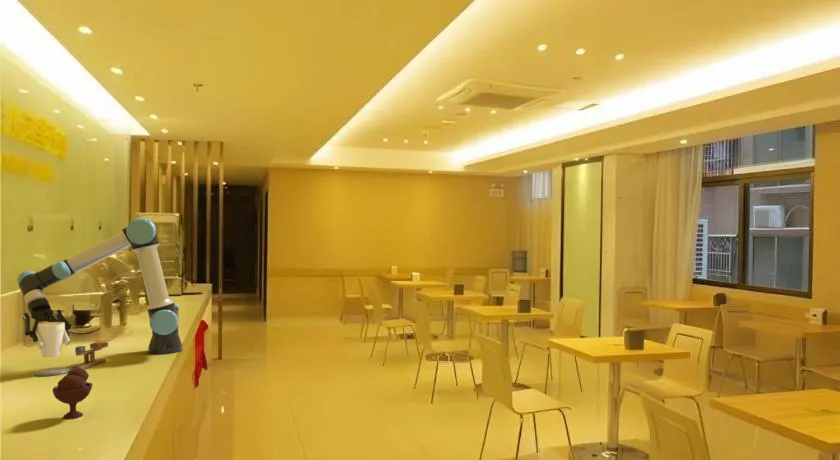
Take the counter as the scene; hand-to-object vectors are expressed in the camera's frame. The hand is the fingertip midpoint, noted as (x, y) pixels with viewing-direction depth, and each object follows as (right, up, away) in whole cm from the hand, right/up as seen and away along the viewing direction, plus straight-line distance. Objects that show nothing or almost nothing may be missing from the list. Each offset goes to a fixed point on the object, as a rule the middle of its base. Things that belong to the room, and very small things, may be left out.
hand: (54, 345), depth 242 cm
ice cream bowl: (+39, -12, -54) cm, 68 cm away
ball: (+7, -3, +20) cm, 21 cm away
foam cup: (-3, -5, +2) cm, 6 cm away
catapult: (+6, -12, +14) cm, 19 cm away
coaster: (-2, -12, +2) cm, 12 cm away
